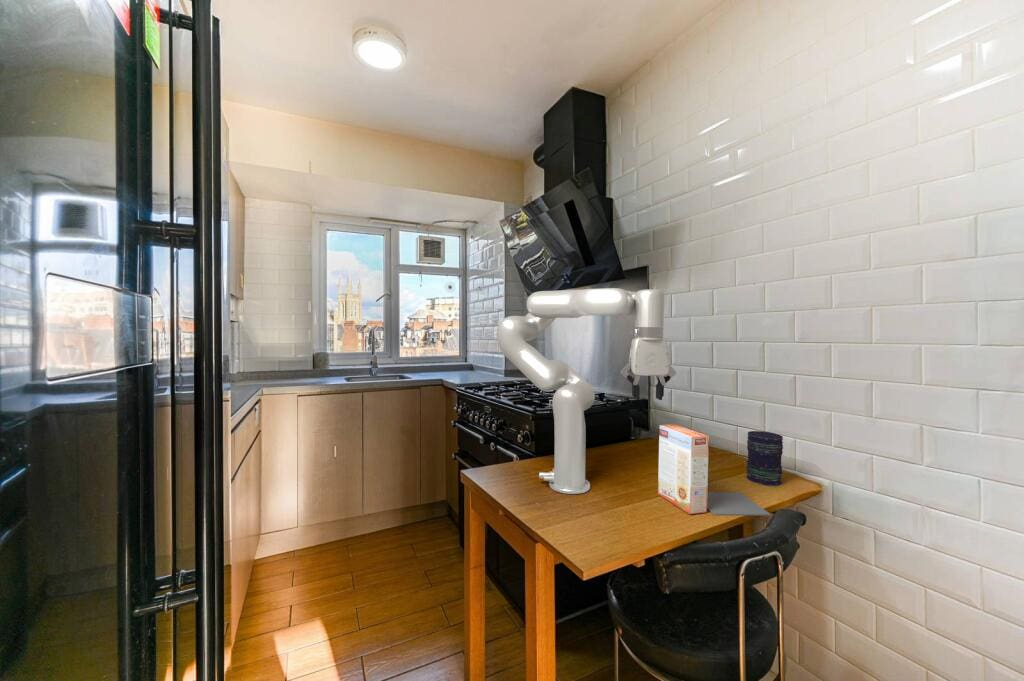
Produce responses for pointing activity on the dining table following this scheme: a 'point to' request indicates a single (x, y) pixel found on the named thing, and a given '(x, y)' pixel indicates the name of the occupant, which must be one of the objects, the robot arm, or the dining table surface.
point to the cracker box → (683, 468)
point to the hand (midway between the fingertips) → (647, 398)
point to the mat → (733, 504)
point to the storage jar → (764, 458)
